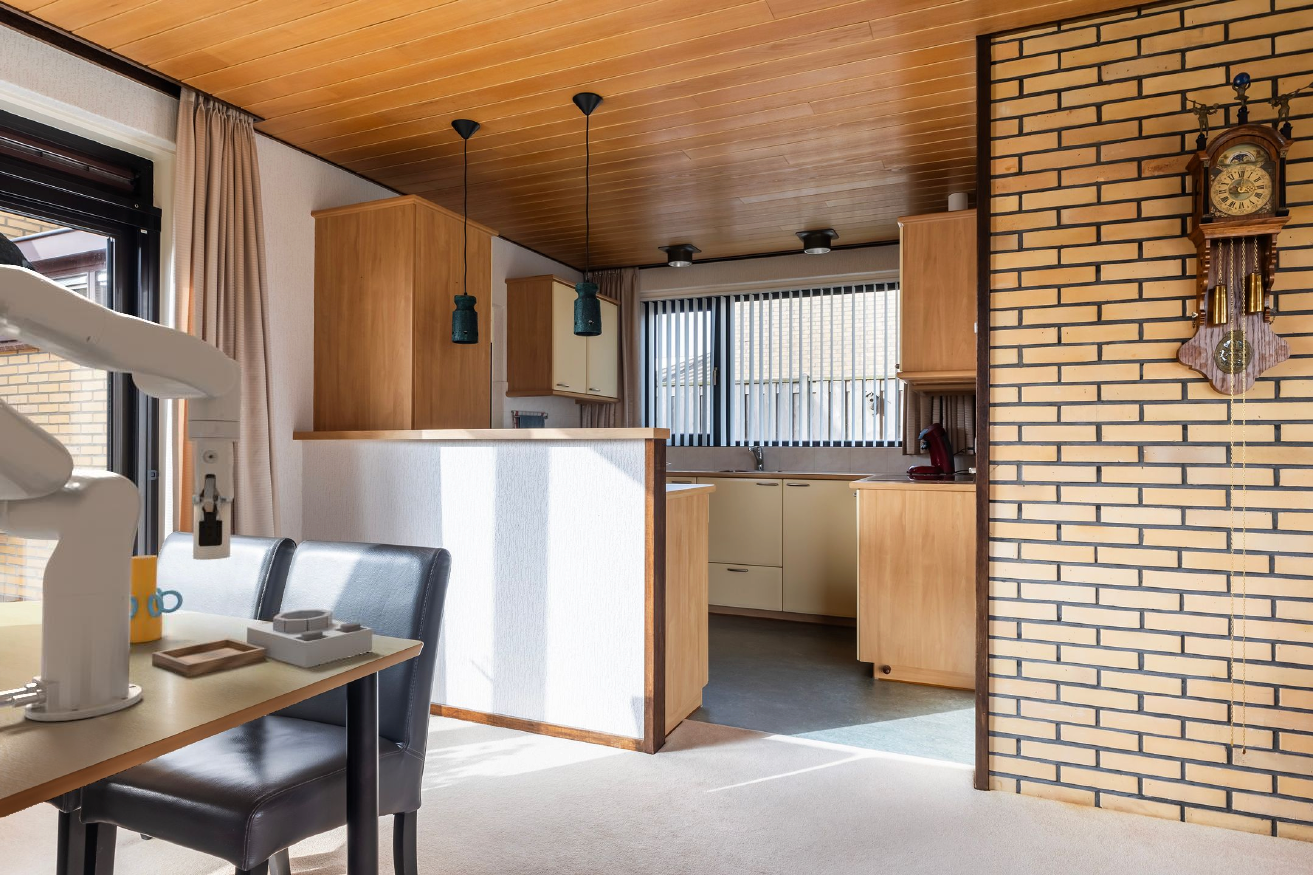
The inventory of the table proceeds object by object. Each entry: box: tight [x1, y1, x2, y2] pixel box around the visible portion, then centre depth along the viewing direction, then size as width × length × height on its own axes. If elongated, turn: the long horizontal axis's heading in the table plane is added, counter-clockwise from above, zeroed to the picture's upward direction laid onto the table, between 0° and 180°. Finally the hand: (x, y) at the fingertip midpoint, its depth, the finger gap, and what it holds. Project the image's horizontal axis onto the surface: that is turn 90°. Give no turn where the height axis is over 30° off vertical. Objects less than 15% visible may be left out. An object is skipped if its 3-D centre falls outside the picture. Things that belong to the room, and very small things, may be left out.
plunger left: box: [301, 631, 323, 642], centre depth 123 cm, size 3×3×4 cm
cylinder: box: [130, 554, 184, 644], centre depth 137 cm, size 12×10×15 cm
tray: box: [151, 637, 267, 677], centre depth 123 cm, size 12×12×2 cm
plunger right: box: [340, 622, 362, 633], centre depth 129 cm, size 3×3×4 cm
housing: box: [246, 608, 373, 669], centre depth 129 cm, size 12×18×6 cm, turn 56°
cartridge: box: [192, 494, 233, 561], centre depth 123 cm, size 6×6×11 cm
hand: (212, 542), depth 123 cm, fingers closed on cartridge, 5 cm apart
